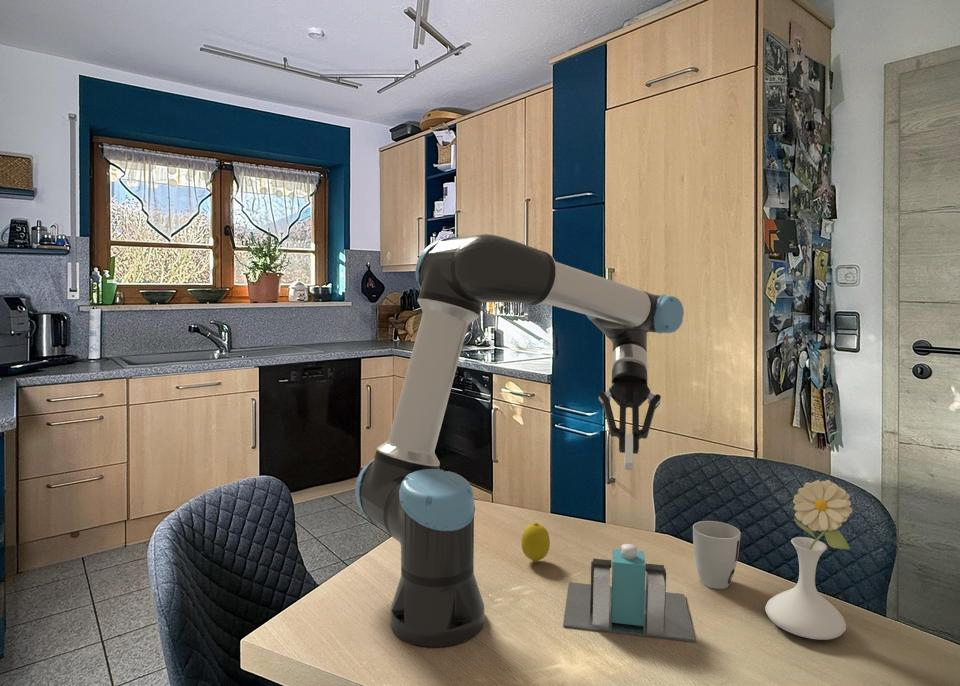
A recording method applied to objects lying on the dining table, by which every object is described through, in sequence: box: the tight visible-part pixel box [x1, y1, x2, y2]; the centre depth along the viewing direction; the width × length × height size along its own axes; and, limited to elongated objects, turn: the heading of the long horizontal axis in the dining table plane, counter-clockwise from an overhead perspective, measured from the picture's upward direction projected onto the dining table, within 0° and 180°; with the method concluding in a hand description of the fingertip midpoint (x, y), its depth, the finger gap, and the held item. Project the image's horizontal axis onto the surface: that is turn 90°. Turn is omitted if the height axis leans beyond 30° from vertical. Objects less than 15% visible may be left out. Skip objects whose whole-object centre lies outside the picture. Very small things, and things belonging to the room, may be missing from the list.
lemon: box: [520, 522, 551, 563], centre depth 119 cm, size 6×6×8 cm
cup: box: [692, 520, 742, 590], centre depth 111 cm, size 8×8×10 cm
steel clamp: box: [562, 558, 696, 643], centre depth 101 cm, size 20×14×9 cm
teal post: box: [611, 543, 647, 626], centre depth 98 cm, size 5×5×12 cm
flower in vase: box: [764, 479, 853, 641], centre depth 95 cm, size 13×11×25 cm
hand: (628, 466), depth 118 cm, fingers closed
